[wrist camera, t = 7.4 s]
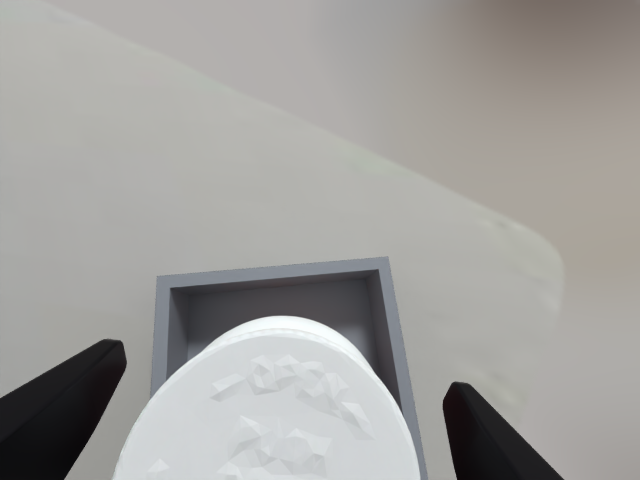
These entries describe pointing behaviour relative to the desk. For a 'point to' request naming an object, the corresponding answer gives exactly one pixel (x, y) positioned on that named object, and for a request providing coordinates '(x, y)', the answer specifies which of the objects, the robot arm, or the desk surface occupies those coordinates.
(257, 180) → the desk surface
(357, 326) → the slate tray
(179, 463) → the pill bottle
